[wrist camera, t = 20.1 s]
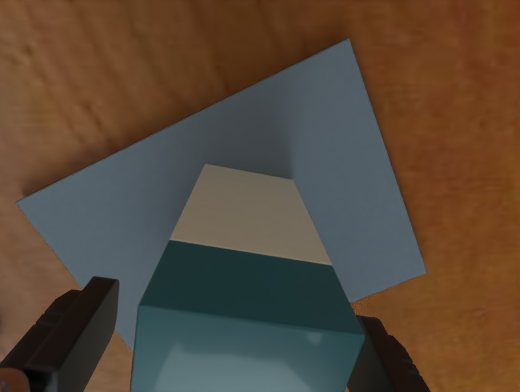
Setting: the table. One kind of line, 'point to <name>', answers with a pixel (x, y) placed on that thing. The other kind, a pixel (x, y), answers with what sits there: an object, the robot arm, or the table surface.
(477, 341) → the table surface
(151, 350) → the carton
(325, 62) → the mat
